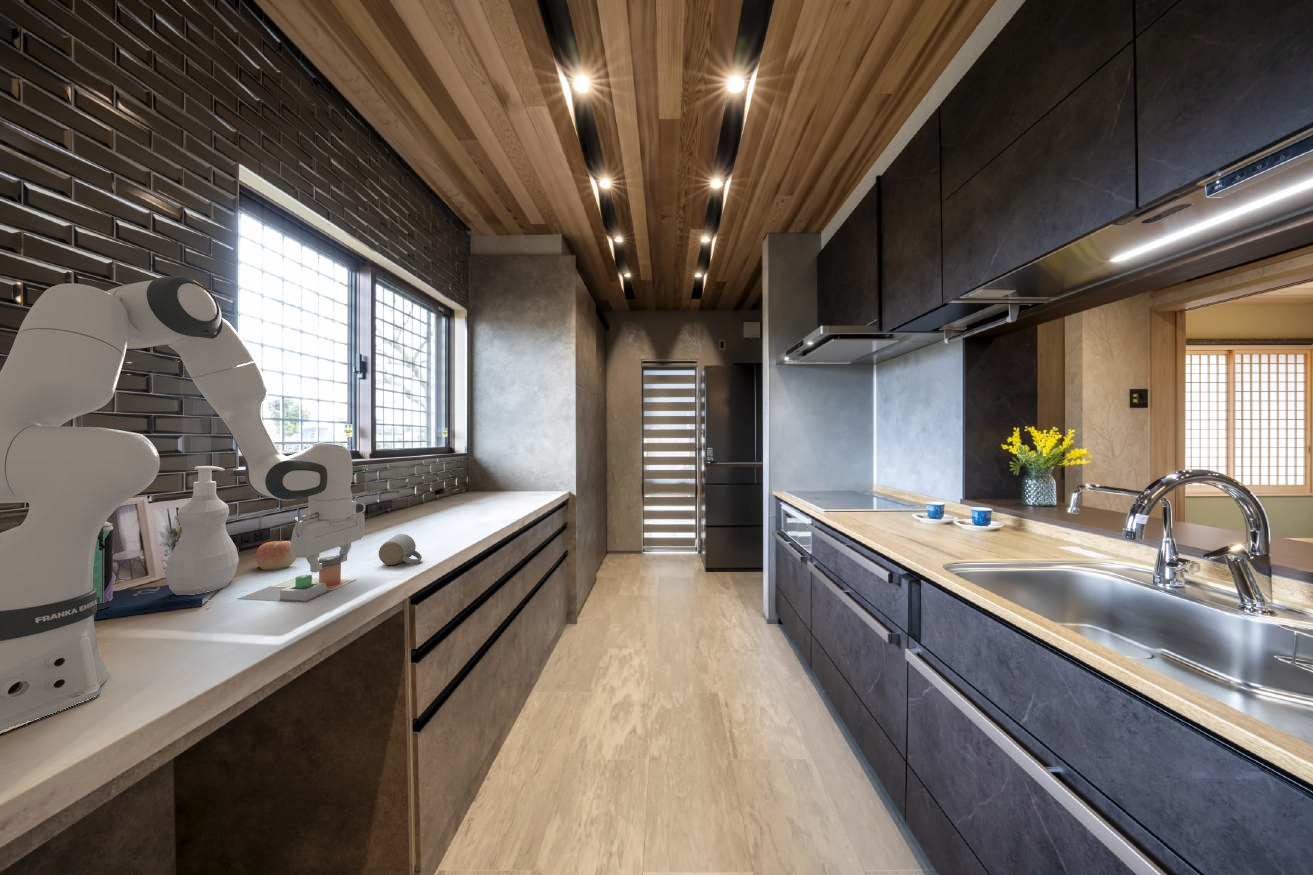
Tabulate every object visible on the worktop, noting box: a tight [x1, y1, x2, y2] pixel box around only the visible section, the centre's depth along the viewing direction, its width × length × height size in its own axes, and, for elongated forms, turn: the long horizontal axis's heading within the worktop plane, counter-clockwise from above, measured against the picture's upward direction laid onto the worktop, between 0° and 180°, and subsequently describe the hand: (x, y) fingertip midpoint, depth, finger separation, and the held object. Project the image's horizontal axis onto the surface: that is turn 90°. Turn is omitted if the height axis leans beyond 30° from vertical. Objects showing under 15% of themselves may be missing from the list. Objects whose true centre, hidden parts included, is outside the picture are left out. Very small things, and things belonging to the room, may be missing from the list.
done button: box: [295, 574, 313, 589], centre depth 109 cm, size 3×3×2 cm
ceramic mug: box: [378, 533, 423, 566], centre depth 141 cm, size 11×8×8 cm
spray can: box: [93, 521, 114, 604], centre depth 101 cm, size 6×6×20 cm
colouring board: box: [237, 576, 356, 604], centre depth 114 cm, size 16×16×3 cm
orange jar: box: [318, 555, 343, 586], centre depth 118 cm, size 5×5×6 cm
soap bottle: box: [164, 465, 240, 596], centre depth 113 cm, size 17×12×29 cm
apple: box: [255, 540, 297, 571], centre depth 131 cm, size 9×9×8 cm
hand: (329, 566), depth 117 cm, fingers open, 7 cm apart
